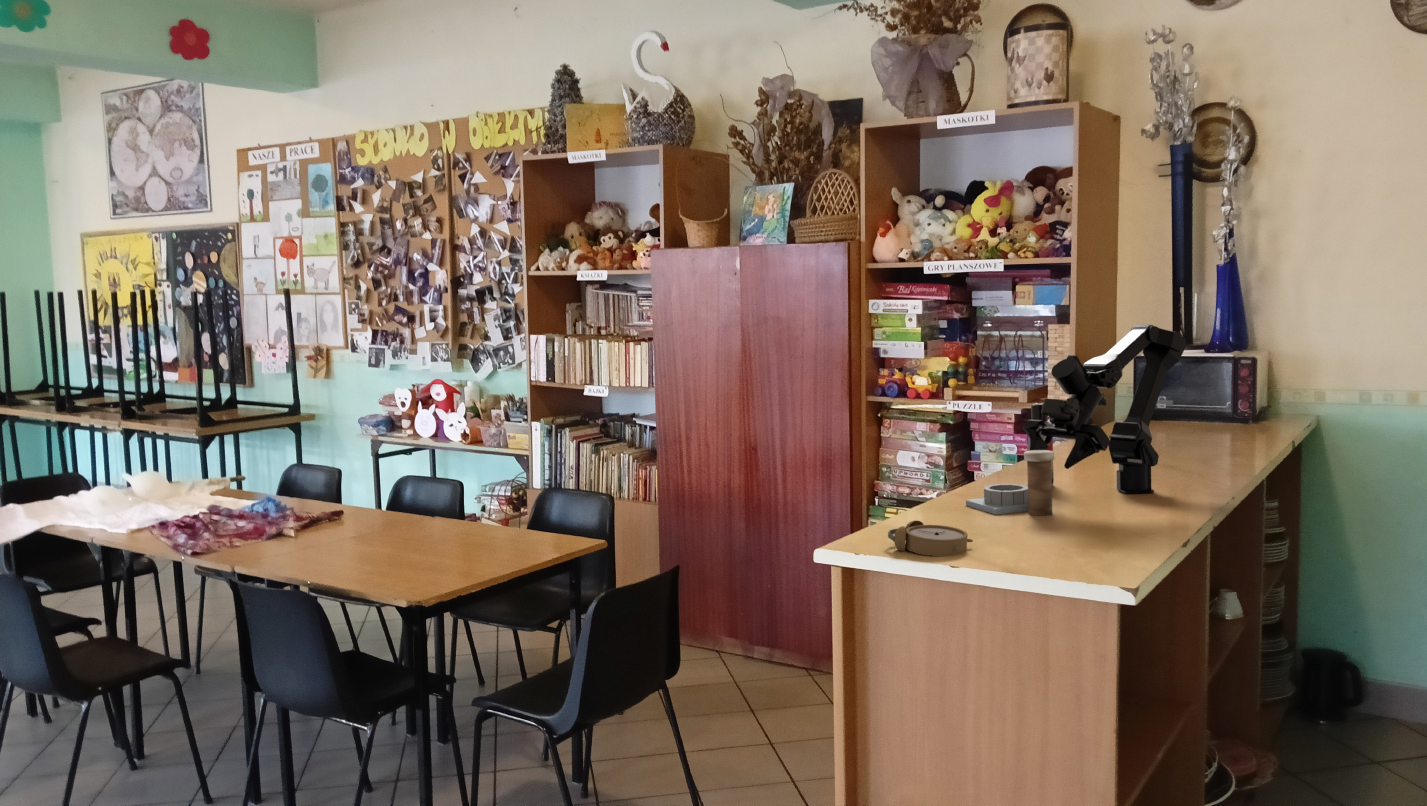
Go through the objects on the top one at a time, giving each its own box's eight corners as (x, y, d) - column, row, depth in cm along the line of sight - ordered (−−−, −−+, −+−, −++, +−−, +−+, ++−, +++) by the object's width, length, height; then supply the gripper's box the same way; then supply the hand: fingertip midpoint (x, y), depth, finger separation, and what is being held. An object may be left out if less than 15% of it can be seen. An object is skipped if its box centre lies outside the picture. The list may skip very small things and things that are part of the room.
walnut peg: (1050, 509, 227) (1049, 449, 226) (1058, 515, 221) (1057, 453, 220) (1022, 511, 228) (1020, 450, 226) (1029, 516, 222) (1027, 454, 221)
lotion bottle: (1055, 487, 253) (1053, 403, 251) (1030, 487, 254) (1027, 404, 252) (1052, 483, 258) (1050, 400, 256) (1027, 483, 259) (1025, 401, 257)
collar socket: (1016, 499, 241) (1016, 480, 240) (1048, 508, 229) (1048, 488, 229) (966, 505, 237) (965, 486, 237) (995, 514, 226) (995, 495, 225)
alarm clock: (956, 543, 190) (879, 523, 198) (952, 570, 191) (875, 548, 199) (977, 530, 199) (903, 511, 207) (973, 556, 200) (899, 536, 208)
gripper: (1027, 382, 234) (993, 438, 229) (1100, 385, 219) (1066, 445, 214) (1050, 415, 239) (1019, 470, 234) (1124, 420, 224) (1092, 479, 219)
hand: (1047, 465), depth 225 cm, fingers open, 9 cm apart
